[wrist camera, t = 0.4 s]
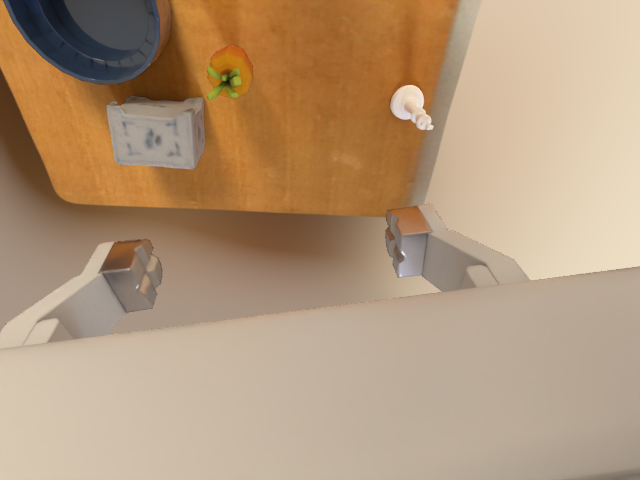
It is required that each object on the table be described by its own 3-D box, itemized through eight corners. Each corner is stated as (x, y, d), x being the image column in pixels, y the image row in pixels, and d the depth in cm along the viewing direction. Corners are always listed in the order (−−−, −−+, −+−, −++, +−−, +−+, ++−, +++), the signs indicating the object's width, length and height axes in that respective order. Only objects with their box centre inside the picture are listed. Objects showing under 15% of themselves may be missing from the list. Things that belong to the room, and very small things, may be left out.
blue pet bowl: (-2, -56, 40) (-42, -55, 35) (126, -104, 38) (104, -110, 33) (88, 84, 49) (67, 100, 44) (194, 49, 48) (185, 62, 43)
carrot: (220, 75, 50) (205, 115, 38) (213, 33, 47) (195, 64, 35) (257, 73, 50) (254, 113, 39) (253, 32, 47) (247, 61, 36)
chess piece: (412, 122, 57) (435, 150, 49) (384, 112, 56) (403, 140, 48) (429, 91, 54) (455, 115, 47) (399, 80, 53) (422, 103, 45)
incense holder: (204, 88, 51) (191, 116, 43) (207, 145, 56) (196, 179, 48) (127, 81, 49) (99, 107, 41) (138, 140, 54) (115, 174, 46)
